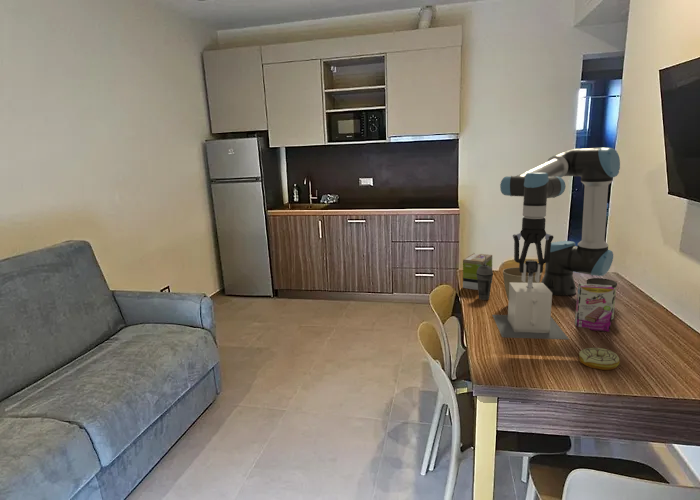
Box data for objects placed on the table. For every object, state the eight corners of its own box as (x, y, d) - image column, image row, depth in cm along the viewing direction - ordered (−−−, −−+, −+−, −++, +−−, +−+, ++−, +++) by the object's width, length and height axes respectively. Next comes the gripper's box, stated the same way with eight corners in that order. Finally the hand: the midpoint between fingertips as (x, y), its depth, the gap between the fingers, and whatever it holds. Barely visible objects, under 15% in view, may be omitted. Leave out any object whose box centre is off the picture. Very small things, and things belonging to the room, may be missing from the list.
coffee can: (583, 310, 177) (585, 276, 174) (612, 313, 172) (615, 279, 169) (584, 318, 168) (587, 284, 165) (615, 322, 163) (619, 286, 160)
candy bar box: (576, 329, 158) (579, 286, 155) (574, 324, 163) (577, 282, 159) (611, 332, 154) (615, 288, 151) (607, 327, 159) (612, 284, 156)
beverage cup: (490, 295, 198) (491, 253, 194) (494, 301, 191) (495, 257, 187) (474, 295, 199) (475, 253, 194) (477, 301, 192) (478, 257, 187)
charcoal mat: (550, 318, 169) (550, 315, 169) (569, 342, 148) (569, 339, 148) (492, 316, 173) (492, 314, 172) (502, 339, 152) (502, 337, 151)
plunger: (538, 319, 164) (541, 258, 159) (545, 328, 154) (549, 264, 149) (511, 318, 165) (514, 258, 160) (517, 328, 156) (520, 264, 151)
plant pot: (546, 312, 175) (549, 274, 172) (512, 316, 173) (514, 277, 169) (526, 301, 190) (528, 265, 186) (494, 303, 187) (496, 268, 184)
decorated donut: (576, 354, 139) (576, 343, 139) (614, 358, 136) (615, 347, 135) (581, 369, 130) (582, 357, 129) (622, 374, 126) (623, 362, 126)
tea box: (473, 280, 223) (473, 252, 220) (492, 283, 217) (493, 254, 214) (462, 288, 211) (462, 258, 208) (482, 291, 205) (483, 261, 202)
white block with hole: (540, 320, 165) (542, 282, 162) (551, 336, 151) (554, 295, 147) (507, 319, 167) (509, 282, 164) (515, 335, 153) (517, 294, 149)
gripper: (556, 215, 154) (552, 278, 159) (506, 215, 156) (503, 278, 161) (563, 218, 146) (558, 284, 151) (510, 218, 149) (507, 283, 154)
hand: (530, 281), depth 156 cm, fingers closed on plunger, 4 cm apart
